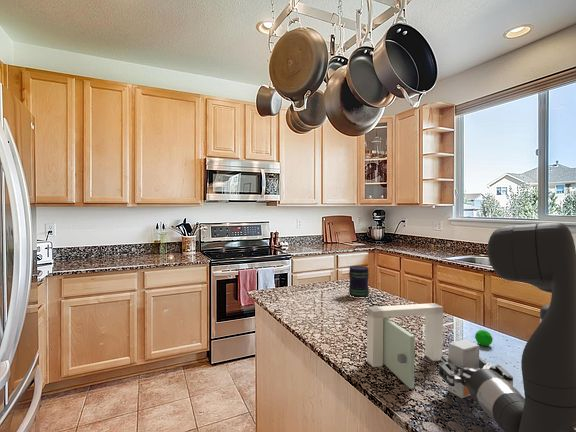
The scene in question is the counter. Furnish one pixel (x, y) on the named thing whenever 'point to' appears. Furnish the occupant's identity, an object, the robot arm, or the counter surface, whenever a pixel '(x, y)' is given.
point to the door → (399, 351)
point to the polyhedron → (483, 338)
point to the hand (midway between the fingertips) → (459, 360)
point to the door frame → (378, 313)
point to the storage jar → (358, 281)
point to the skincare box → (463, 362)
